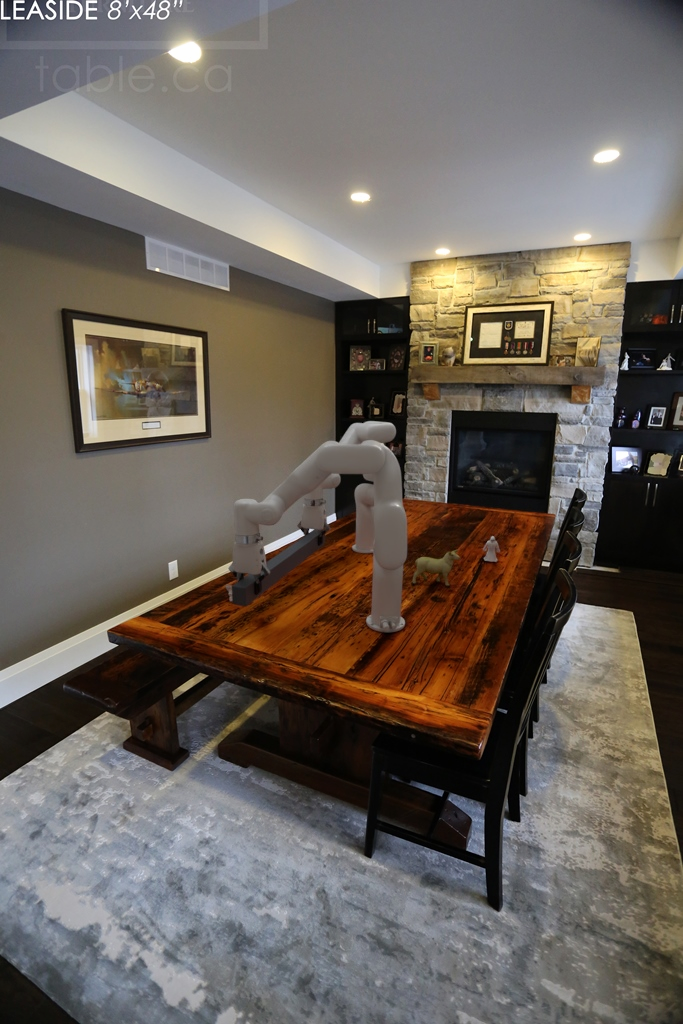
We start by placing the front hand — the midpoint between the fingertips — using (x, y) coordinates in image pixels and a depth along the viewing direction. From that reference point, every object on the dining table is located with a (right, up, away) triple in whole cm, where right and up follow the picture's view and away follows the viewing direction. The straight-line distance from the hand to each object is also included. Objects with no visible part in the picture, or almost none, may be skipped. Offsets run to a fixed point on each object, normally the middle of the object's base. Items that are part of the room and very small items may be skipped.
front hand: (250, 591), depth 161 cm
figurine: (+97, +4, +64) cm, 116 cm away
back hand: (+18, +12, +49) cm, 54 cm away
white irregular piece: (-9, -6, +18) cm, 20 cm away
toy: (+66, -3, +35) cm, 75 cm away
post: (+9, +4, +25) cm, 27 cm away
